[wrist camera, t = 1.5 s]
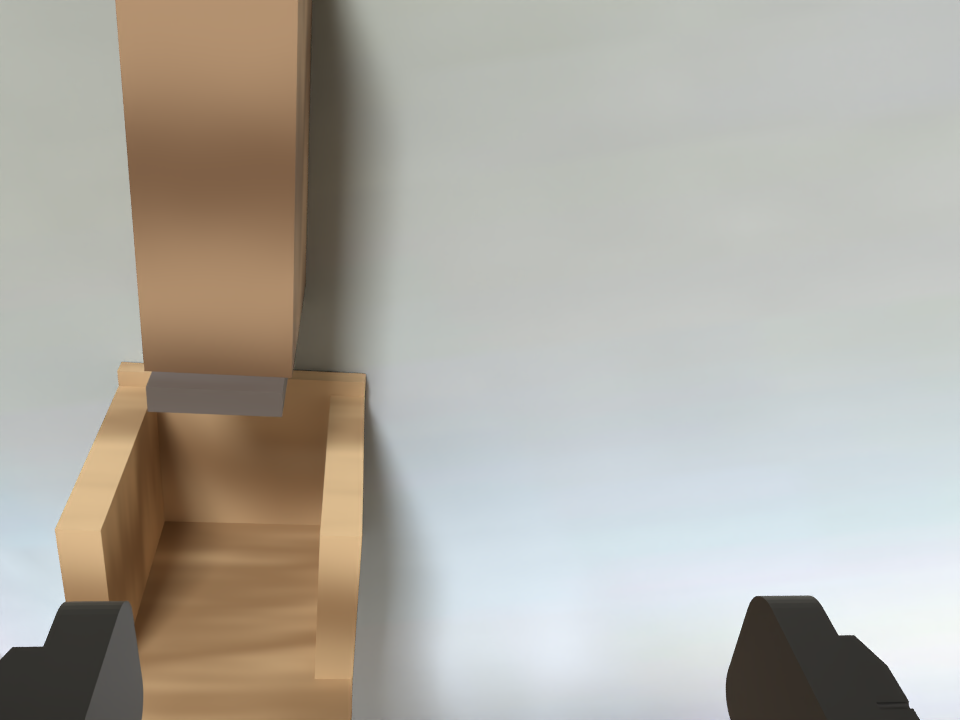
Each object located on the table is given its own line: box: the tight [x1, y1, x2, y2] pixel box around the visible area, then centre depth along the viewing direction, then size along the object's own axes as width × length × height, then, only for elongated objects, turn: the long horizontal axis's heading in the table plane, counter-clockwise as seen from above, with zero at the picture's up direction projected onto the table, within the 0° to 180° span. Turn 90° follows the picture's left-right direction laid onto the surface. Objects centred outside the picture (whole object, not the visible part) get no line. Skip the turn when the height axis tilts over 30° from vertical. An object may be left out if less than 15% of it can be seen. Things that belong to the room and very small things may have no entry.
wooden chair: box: [55, 362, 366, 720], centre depth 28 cm, size 8×9×15 cm
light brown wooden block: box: [115, 0, 312, 417], centre depth 25 cm, size 13×4×7 cm, turn 174°
